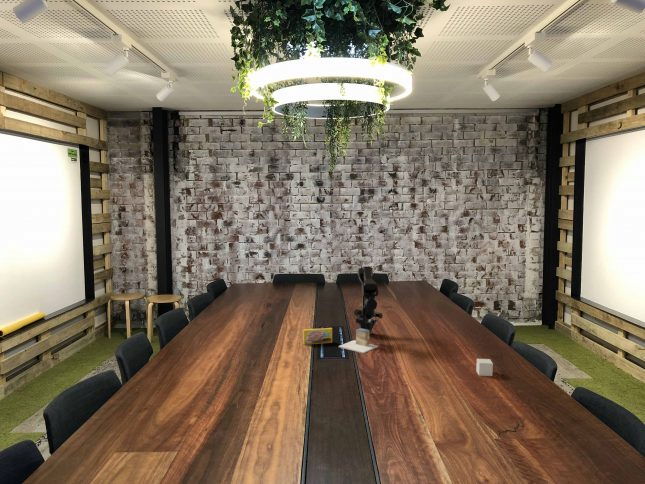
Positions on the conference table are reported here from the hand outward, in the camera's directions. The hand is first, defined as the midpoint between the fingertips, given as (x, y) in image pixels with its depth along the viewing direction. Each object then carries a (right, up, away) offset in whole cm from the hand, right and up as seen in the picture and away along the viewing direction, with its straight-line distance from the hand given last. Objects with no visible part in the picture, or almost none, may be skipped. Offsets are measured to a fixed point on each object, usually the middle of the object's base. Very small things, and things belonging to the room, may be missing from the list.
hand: (369, 332), depth 276 cm
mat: (-6, -6, -7) cm, 12 cm away
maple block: (-4, -5, -4) cm, 8 cm away
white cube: (+49, -11, -45) cm, 67 cm away
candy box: (-28, -6, -1) cm, 29 cm away
